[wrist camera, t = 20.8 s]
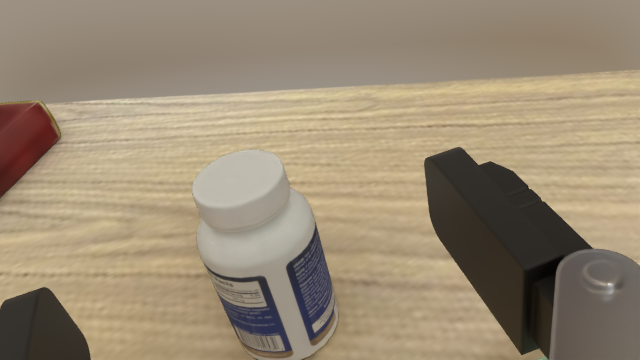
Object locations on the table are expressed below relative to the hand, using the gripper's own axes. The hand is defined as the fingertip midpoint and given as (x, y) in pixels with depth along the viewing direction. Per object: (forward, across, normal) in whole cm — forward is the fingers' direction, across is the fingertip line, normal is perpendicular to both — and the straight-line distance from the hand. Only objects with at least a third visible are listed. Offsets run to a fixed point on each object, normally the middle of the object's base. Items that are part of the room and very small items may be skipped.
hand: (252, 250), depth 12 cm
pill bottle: (+11, 0, +15) cm, 19 cm away
